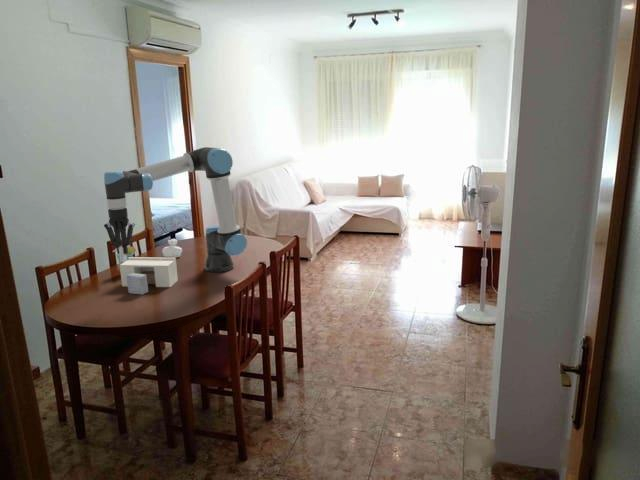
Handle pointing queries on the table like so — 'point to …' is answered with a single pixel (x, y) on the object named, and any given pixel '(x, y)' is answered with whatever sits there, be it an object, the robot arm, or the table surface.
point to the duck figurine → (172, 249)
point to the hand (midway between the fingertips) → (123, 260)
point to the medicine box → (137, 283)
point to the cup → (130, 253)
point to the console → (151, 270)
